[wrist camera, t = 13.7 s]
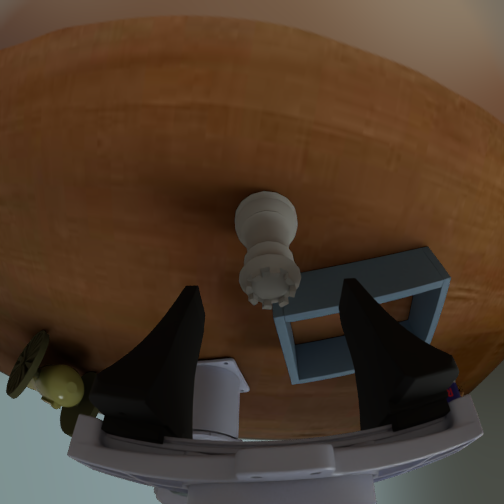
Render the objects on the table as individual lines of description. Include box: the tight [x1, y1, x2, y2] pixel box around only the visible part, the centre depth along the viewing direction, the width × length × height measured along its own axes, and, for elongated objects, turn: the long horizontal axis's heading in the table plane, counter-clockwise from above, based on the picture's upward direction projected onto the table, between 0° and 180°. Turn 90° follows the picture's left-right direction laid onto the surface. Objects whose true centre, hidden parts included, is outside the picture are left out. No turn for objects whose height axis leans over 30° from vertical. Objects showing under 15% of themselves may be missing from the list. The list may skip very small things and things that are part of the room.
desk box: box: [272, 247, 451, 384], centre depth 24 cm, size 15×11×4 cm
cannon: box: [6, 330, 99, 437], centre depth 30 cm, size 25×12×11 cm, turn 120°
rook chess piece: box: [235, 191, 301, 310], centre depth 17 cm, size 4×4×8 cm
